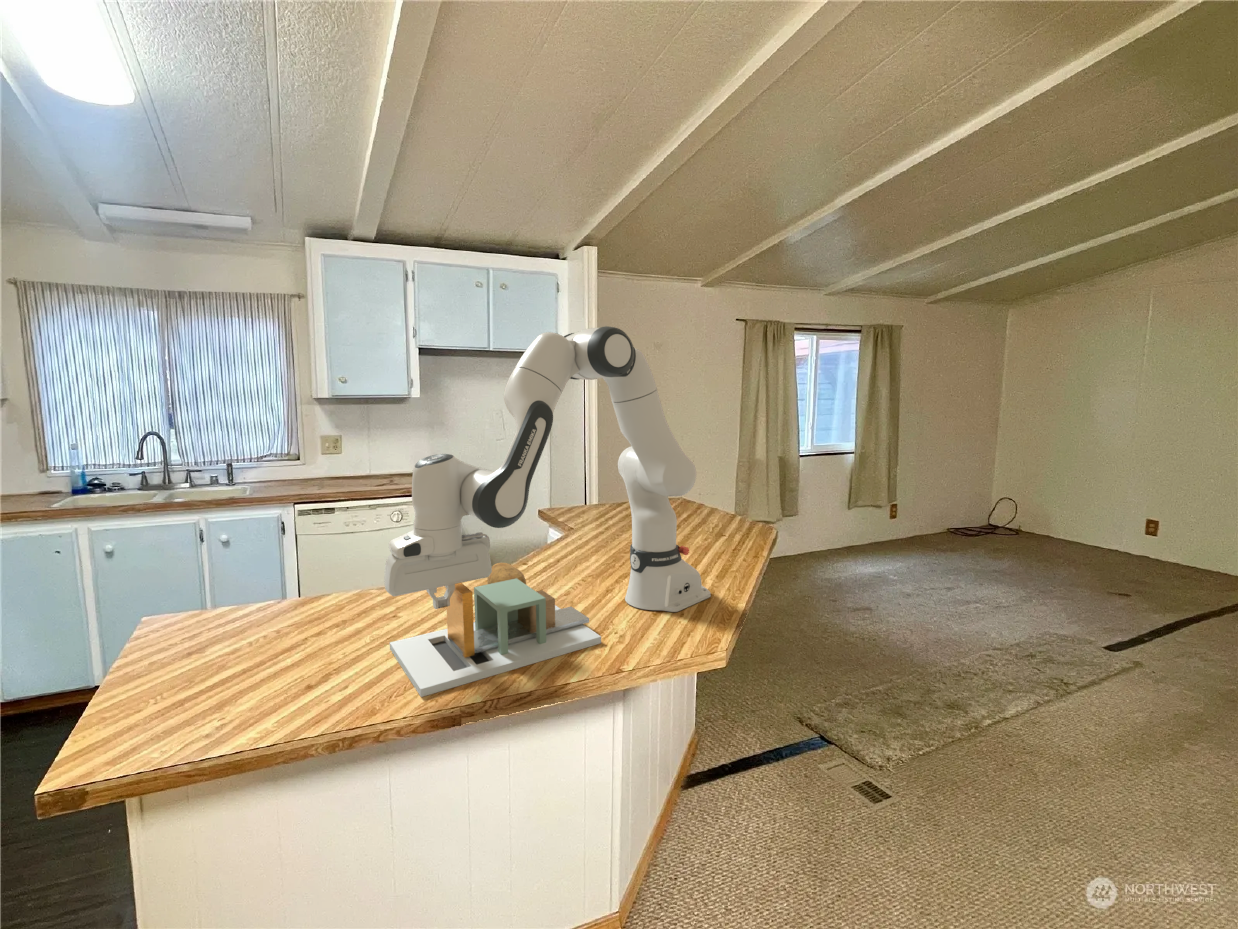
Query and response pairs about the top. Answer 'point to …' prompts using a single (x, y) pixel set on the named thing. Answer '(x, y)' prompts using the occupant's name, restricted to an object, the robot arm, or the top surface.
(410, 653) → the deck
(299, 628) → the top surface
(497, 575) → the potato
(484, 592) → the tunnel
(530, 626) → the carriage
